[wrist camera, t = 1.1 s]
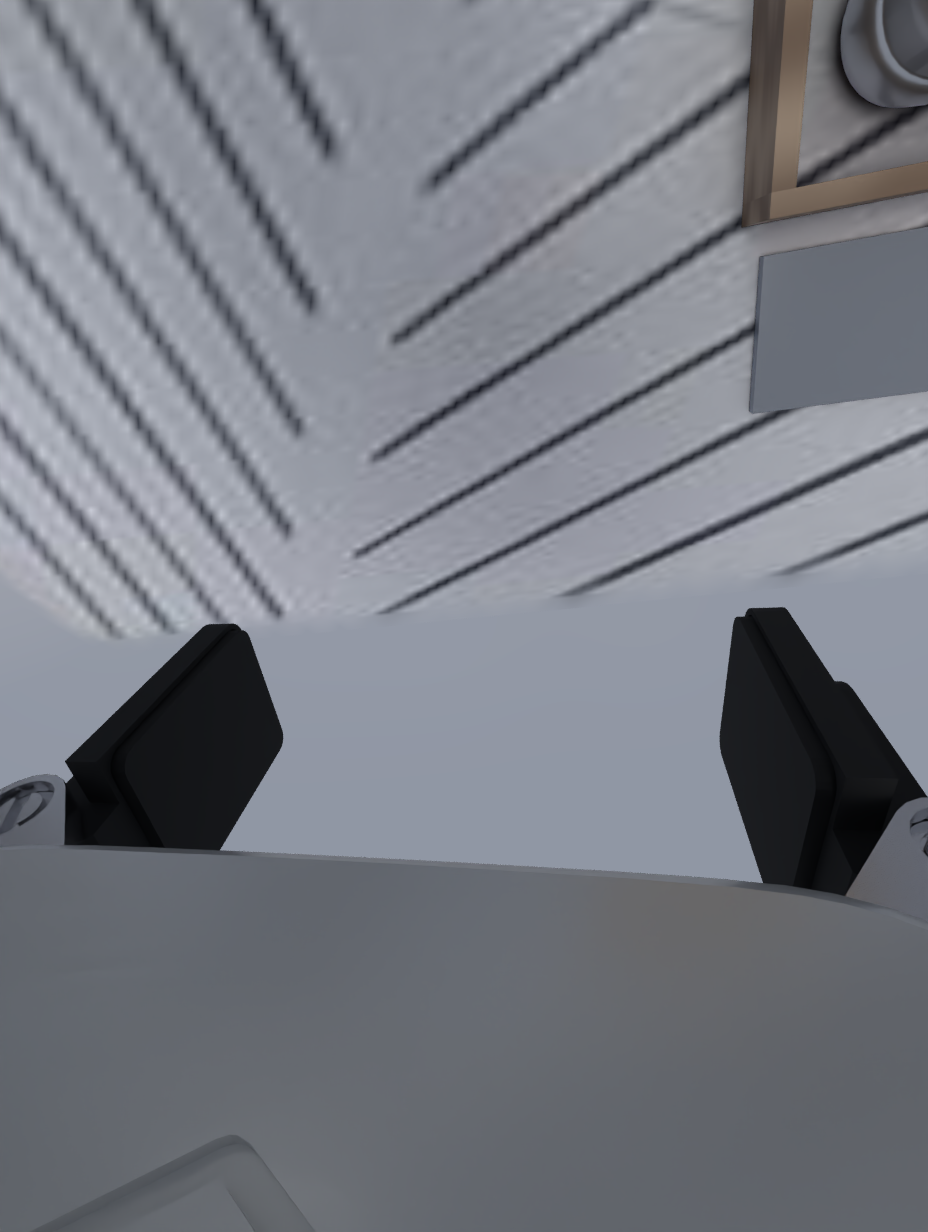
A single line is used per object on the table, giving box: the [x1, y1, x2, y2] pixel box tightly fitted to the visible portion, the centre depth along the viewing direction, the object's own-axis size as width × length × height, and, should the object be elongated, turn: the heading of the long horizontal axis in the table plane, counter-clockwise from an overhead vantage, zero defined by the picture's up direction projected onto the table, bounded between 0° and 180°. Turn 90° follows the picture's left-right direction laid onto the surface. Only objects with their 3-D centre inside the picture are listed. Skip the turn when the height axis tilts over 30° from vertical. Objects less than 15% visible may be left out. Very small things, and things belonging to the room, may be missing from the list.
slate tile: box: [749, 227, 928, 414], centre depth 32 cm, size 8×11×1 cm
